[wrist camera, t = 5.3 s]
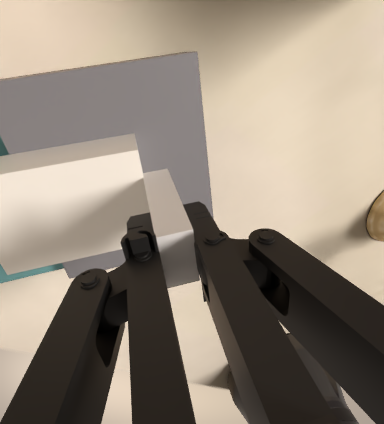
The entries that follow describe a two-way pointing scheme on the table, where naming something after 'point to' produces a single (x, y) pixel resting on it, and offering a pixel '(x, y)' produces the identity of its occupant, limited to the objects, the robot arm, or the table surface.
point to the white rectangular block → (68, 201)
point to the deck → (116, 121)
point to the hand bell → (376, 219)
